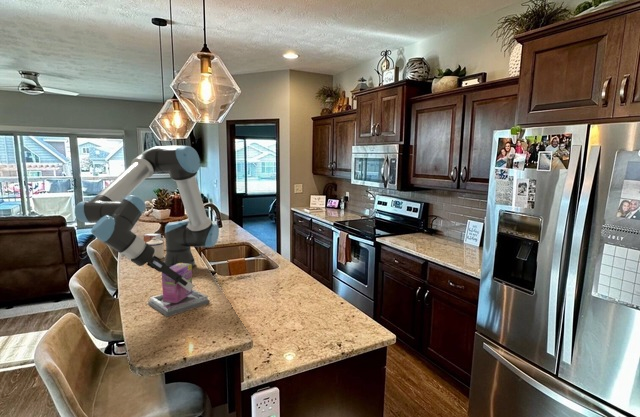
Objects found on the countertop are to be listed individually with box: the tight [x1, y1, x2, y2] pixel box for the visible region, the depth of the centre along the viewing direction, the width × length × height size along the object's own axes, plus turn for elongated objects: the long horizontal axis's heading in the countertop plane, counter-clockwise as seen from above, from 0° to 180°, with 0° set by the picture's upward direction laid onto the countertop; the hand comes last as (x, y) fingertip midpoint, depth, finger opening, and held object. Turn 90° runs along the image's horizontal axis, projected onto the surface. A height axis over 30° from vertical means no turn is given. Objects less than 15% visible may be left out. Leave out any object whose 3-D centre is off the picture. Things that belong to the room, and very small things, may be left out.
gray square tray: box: [147, 294, 211, 318], centre depth 128 cm, size 16×16×1 cm
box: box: [161, 263, 193, 303], centre depth 127 cm, size 10×6×12 cm, turn 168°
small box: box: [143, 233, 162, 243], centre depth 209 cm, size 8×6×10 cm
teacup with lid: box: [147, 238, 165, 260], centre depth 192 cm, size 12×9×12 cm
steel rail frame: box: [149, 288, 209, 313], centre depth 128 cm, size 15×15×2 cm
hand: (186, 284), depth 130 cm, fingers closed on box, 10 cm apart
